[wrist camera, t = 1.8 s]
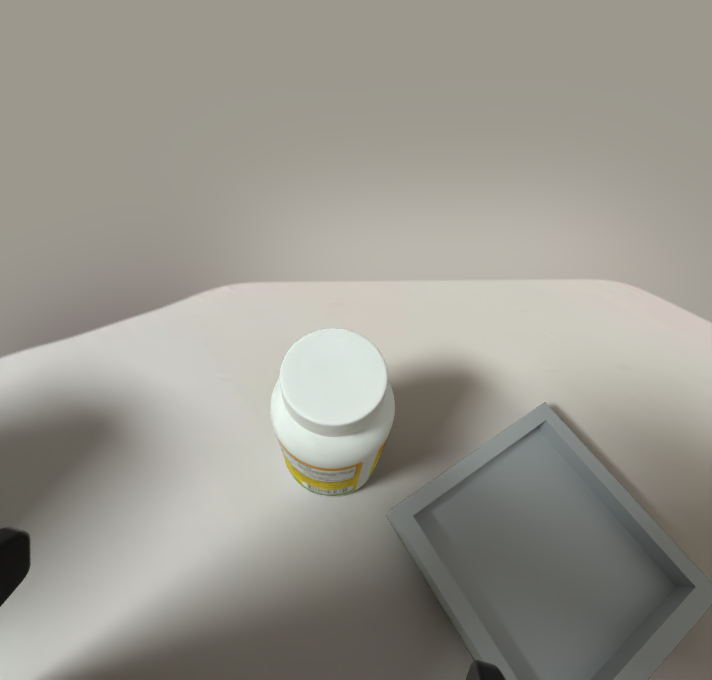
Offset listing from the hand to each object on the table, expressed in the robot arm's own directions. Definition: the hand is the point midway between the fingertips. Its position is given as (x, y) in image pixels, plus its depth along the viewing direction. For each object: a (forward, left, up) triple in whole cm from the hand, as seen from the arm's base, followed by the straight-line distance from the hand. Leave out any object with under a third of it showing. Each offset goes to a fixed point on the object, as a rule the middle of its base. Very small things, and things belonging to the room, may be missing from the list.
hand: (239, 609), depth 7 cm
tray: (+11, -5, -13) cm, 18 cm away
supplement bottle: (+5, +5, -14) cm, 15 cm away
